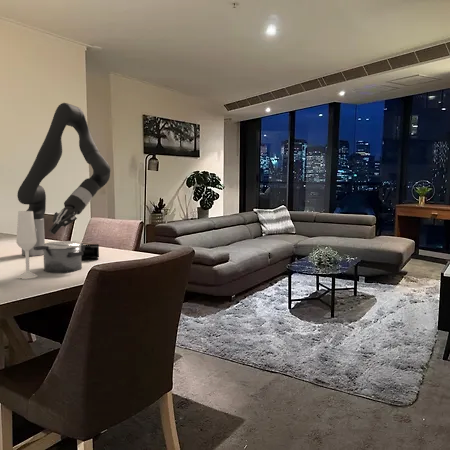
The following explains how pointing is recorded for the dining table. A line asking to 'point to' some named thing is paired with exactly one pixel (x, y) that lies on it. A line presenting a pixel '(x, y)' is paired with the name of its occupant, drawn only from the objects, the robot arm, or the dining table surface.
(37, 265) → the dining table surface
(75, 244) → the lid
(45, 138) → the robot arm
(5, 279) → the dining table surface
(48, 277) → the dining table surface
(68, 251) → the pot
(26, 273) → the champagne flute
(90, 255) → the end cap
